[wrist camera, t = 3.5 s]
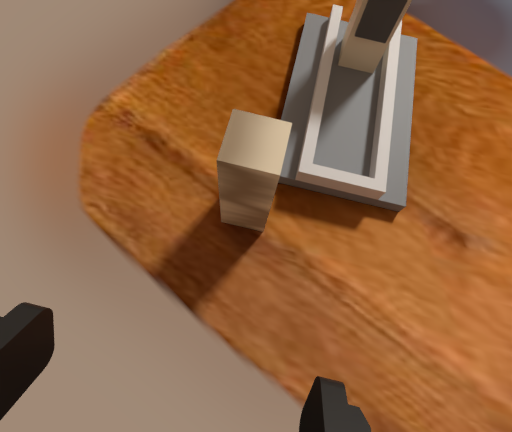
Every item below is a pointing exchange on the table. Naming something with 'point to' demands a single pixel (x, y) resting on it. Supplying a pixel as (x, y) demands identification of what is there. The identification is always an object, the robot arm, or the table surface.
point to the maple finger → (250, 167)
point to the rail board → (352, 105)
